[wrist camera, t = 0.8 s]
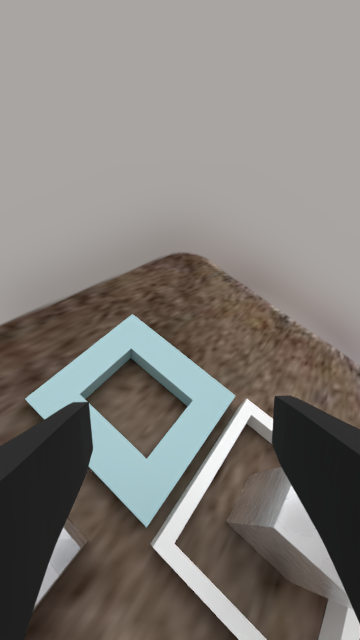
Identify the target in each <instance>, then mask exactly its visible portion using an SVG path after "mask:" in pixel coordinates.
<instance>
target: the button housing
mask: <svg viewBox="0 0 360 640" xmlns="http://www.w3.org/2000/svg"><path fill="white" fill-rule="evenodd" d="M87 542H88V541H87V540H86V538H85V537H84V536H83V535H82V534H81V533H80V531H79V530H78V529H77V528H76V527H75V526H74V524H73V523H72V522H71V521H70V520H69V519H68V518H67V520H66V522H65V525H64V527H63V529H62V532H61V534H60V536H59V539H58V541H57V543H56V546H55V549H54V551H53V554H52V556H51V559H50V562H49V564H48V567H47V570H46V573H45V576H44V579H43V582H42V585H41V588H40V591H39V594H38V597H37V600H36V603H35V606H34V610H35V609H36V608H37V606H38V605H39V604H40V603H41V601H42V600H43V599H44V597H45V596H46V595H47V594H48V592H49V591H50V590H51V588H52V587H53V586H54V584H55V583H56V582H57V581H58V579H59V578H60V577H61V575H62V574H63V573H64V572H65V570H66V569H67V568H68V566H69V565H70V564H71V563H72V561H73V560H74V559H75V557H76V556H77V555H78V554H79V552H80V551H81V550H82V548H83V547H84V546H85V544H86V543H87ZM34 610H33V612H34Z"/></svg>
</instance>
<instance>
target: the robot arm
mask: <svg viewBox="0 0 360 640" xmlns="http://www.w3.org/2000/svg"><path fill="white" fill-rule="evenodd" d="M272 445H273V447H274V450H275V452H276V455H277V457H278V460H279V462H280V465H281V467H282V469H283V471H284V473H285V475H286V476H287V478H288V480H289V482H290V484H291V485H292V487H293V489H294V491H295V493H296V494H297V496H298V498H299V500H300V501H301V503H302V505H303V507H304V509H305V510H306V512H307V514H308V516H309V517H310V519H311V521H312V523H313V524H314V526H315V528H316V530H317V532H318V534H319V536H320V538H321V539H322V541H323V543H324V545H325V547H326V549H327V552H328V554H329V556H330V558H331V560H332V563H333V565H334V567H335V569H336V571H337V574H338V576H339V578H340V580H341V582H342V585H343V587H344V589H345V591H346V594H347V596H348V598H349V601H350V603H351V605H352V608H353V610H354V612H355V615H356V617H357V619H358V621H359V624H360V429H358V428H356V427H354V426H352V425H350V424H347V423H345V422H343V421H341V420H339V419H337V418H335V417H333V416H331V415H329V414H327V413H325V412H324V411H322V410H320V409H318V408H316V407H314V406H312V405H310V404H308V403H306V402H304V401H302V400H300V399H297V398H295V397H292V396H275V400H274V415H273V430H272ZM92 452H93V441H92V430H91V419H90V408H89V402H72V403H70V404H68V405H67V406H65V407H63V408H62V409H60V410H58V411H57V412H55V413H54V414H52V415H51V416H49V417H47V418H46V419H44V420H43V421H41V422H40V423H38V424H36V425H35V426H33V427H32V428H30V429H29V430H27V431H25V432H24V433H22V434H20V435H19V436H17V437H15V438H13V439H12V440H10V441H8V442H7V443H5V444H3V445H2V446H0V640H24V638H25V635H26V632H27V628H28V625H29V622H30V619H31V616H32V613H33V610H34V606H35V603H36V600H37V597H38V594H39V591H40V588H41V585H42V582H43V579H44V576H45V573H46V570H47V567H48V564H49V562H50V559H51V556H52V554H53V551H54V549H55V546H56V543H57V541H58V539H59V536H60V534H61V532H62V529H63V527H64V525H65V522H66V520H67V518H68V516H69V513H70V511H71V509H72V506H73V504H74V502H75V499H76V497H77V495H78V492H79V490H80V488H81V485H82V483H83V480H84V478H85V476H86V472H87V469H88V466H89V463H90V459H91V455H92Z"/></svg>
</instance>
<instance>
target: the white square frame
mask: <svg viewBox="0 0 360 640" xmlns="http://www.w3.org/2000/svg"><path fill="white" fill-rule="evenodd" d="M245 424H248V425H249V426H250V427H251V428H253V429H254V430H255V431H256V432H257V433H259V434H260V435H261V436H262V437H264V438H265V439H266V440H267V441H269V442H270V443H271V444H272V430H273V419H272V418H271V417H269V416H268V415H267V414H266V413H264V412H263V411H262V410H261V409H259V408H258V407H257V406H255V405H254V404H253V403H252V402H250V401H249V400H248V399H246V400H245V401H244V402H243V403H242V404H241V405H240V406H239V407H238V409H237V410H236V412H235V413H234V415H233V416H232V418H231V420H230V421H229V423H228V424H227V426H226V427H225V429H224V430H223V432H222V434H221V435H220V437H219V438H218V440H217V441H216V443H215V444H214V446H213V447H212V449H211V451H210V452H209V454H208V455H207V457H206V458H205V460H204V461H203V463H202V464H201V466H200V468H199V469H198V471H197V472H196V474H195V475H194V477H193V478H192V480H191V482H190V483H189V485H188V486H187V488H186V489H185V491H184V492H183V494H182V495H181V497H180V499H179V500H178V502H177V503H176V505H175V506H174V508H173V509H172V511H171V513H170V514H169V516H168V517H167V519H166V520H165V522H164V523H163V525H162V526H161V528H160V530H159V531H158V533H157V534H156V536H155V537H154V539H153V540H152V542H151V546H152V547H153V548H154V549H155V550H156V551H157V552H158V553H159V554H160V556H161V557H162V558H163V559H164V560H165V561H166V562H167V563H168V564H169V565H170V566H171V567H172V568H173V569H174V571H175V572H176V573H177V574H178V575H179V576H180V577H181V578H182V579H183V580H184V581H185V582H186V583H187V585H188V586H189V587H190V588H191V589H192V590H193V591H194V592H195V593H196V594H197V595H198V596H199V597H200V598H201V600H202V601H203V602H204V603H205V604H206V605H207V606H208V607H209V608H210V609H211V610H212V611H213V612H214V613H215V615H216V616H217V617H218V618H219V619H220V620H221V621H222V622H223V623H224V624H225V625H226V626H227V627H228V629H229V630H230V631H231V632H232V633H233V634H234V635H235V636H236V637H237V638H238V639H239V640H267V639H266V638H265V637H264V636H263V635H262V634H261V633H260V632H259V631H258V630H257V629H256V628H255V627H254V626H253V625H252V624H251V623H250V622H249V621H248V620H247V619H246V618H245V617H244V615H243V614H242V613H241V612H240V611H239V610H238V609H237V608H236V607H235V606H234V605H233V604H232V603H231V602H230V601H229V600H228V599H227V598H226V597H225V596H224V595H223V594H222V593H221V592H220V591H219V589H218V588H217V587H216V586H215V585H214V584H213V583H212V582H211V581H210V580H209V579H208V578H207V577H206V576H205V575H204V574H203V573H202V572H201V571H200V570H199V569H198V568H197V567H196V566H195V565H194V563H193V562H192V561H191V560H190V559H189V558H188V557H187V556H186V555H185V554H184V553H183V552H182V551H181V550H180V549H179V548H178V547H177V546H176V545H175V544H174V543H175V542H176V540H177V538H178V537H179V535H180V533H181V531H182V530H183V528H184V526H185V525H186V523H187V521H188V520H189V518H190V516H191V515H192V513H193V511H194V510H195V508H196V506H197V505H198V503H199V501H200V500H201V498H202V496H203V495H204V493H205V491H206V490H207V488H208V486H209V485H210V483H211V481H212V480H213V478H214V476H215V475H216V473H217V471H218V470H219V468H220V466H221V465H222V463H223V461H224V459H225V458H226V456H227V454H228V453H229V451H230V449H231V448H232V446H233V444H234V443H235V441H236V439H237V438H238V436H239V434H240V433H241V431H242V429H243V428H244V426H245ZM359 638H360V624H359V621H358V619H357V617H356V615H355V612H354V610H353V609H350V608H348V607H346V606H344V605H341V604H339V603H337V602H334V601H332V600H330V599H328V603H327V607H326V611H325V615H324V619H323V623H322V626H321V630H320V634H319V638H318V640H359Z"/></svg>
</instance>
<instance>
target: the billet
mask: <svg viewBox="0 0 360 640" xmlns="http://www.w3.org/2000/svg"><path fill="white" fill-rule="evenodd" d="M226 522H227V523H228V524H229V525H230V526H231V527H232V528H233V529H234V530H235V531H236V532H237V533H238V534H239V535H240V536H241V537H242V538H243V539H245V540H246V541H247V542H248V543H249V544H250V545H251V546H252V547H253V548H254V549H255V550H256V551H257V552H258V553H259V554H260V555H261V556H262V557H263V558H265V559H266V560H267V561H268V562H269V563H270V564H271V565H272V566H273V567H274V568H275V569H276V570H277V571H278V572H279V573H280V574H281V575H282V576H283V577H284V578H286V579H287V580H288V581H289V582H291V583H293V584H295V585H298V586H300V587H302V588H305V589H307V590H309V591H311V592H314V593H316V594H318V595H321V596H323V597H325V598H328V599H330V600H332V601H334V602H337V603H339V604H341V605H344V606H346V607H348V608H350V609H353V608H352V605H351V603H350V601H349V598H348V596H347V594H346V591H345V589H344V587H343V585H342V582H341V580H340V578H339V576H338V574H337V571H336V569H335V567H334V565H333V563H332V560H331V558H330V556H329V554H328V552H327V549H326V547H325V545H324V543H323V541H322V539H321V538H320V536H319V534H318V532H317V530H316V528H315V526H314V524H313V523H312V521H311V519H310V517H309V516H308V514H307V512H306V510H305V509H304V507H303V505H302V503H301V501H300V500H299V498H298V496H297V494H296V493H295V491H294V489H293V487H292V485H291V484H290V482H289V480H288V478H287V476H286V475H285V473H284V471H283V469H282V467H278V468H274V469H271V470H267V471H263V472H260V473H256V474H252V475H250V476H249V478H248V480H247V482H246V484H245V486H244V488H243V490H242V492H241V494H240V496H239V497H238V499H237V501H236V503H235V505H234V507H233V509H232V511H231V513H230V515H229V517H228V519H227V521H226Z"/></svg>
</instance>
